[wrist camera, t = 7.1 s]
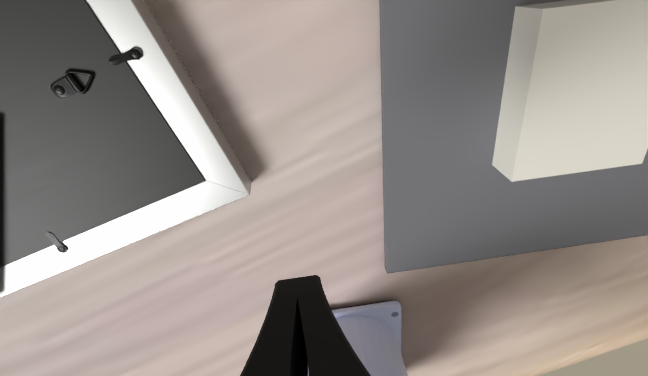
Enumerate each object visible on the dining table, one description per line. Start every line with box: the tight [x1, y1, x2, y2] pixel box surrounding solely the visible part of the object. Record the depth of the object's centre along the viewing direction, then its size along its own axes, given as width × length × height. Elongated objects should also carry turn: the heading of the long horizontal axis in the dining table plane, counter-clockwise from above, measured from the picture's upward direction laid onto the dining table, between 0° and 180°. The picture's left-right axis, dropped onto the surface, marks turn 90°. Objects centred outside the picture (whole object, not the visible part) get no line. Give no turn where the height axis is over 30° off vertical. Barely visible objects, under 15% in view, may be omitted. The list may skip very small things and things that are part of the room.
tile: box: [492, 0, 648, 182], centre depth 18 cm, size 8×2×7 cm
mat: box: [380, 0, 648, 274], centre depth 19 cm, size 22×18×1 cm
